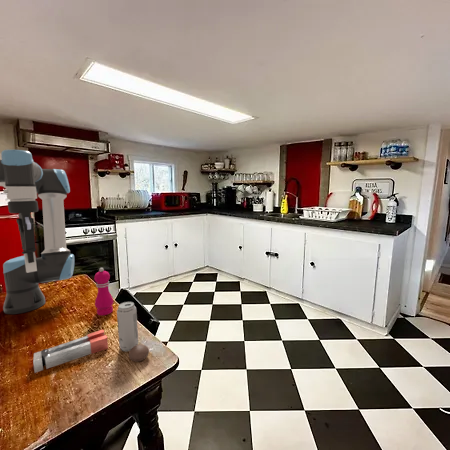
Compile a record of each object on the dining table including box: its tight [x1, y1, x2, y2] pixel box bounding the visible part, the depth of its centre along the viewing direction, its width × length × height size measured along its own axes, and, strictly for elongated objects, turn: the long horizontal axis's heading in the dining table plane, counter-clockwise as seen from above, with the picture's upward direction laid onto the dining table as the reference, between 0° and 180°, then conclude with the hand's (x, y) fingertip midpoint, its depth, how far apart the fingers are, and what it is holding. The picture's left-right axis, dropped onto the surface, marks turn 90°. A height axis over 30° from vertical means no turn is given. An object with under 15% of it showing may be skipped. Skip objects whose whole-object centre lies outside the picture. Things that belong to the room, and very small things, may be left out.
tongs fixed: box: [32, 334, 109, 374], centre depth 81 cm, size 20×5×4 cm, turn 125°
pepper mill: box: [93, 267, 114, 316], centre depth 109 cm, size 7×7×20 cm
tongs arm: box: [47, 329, 106, 354], centre depth 84 cm, size 16×2×4 cm, turn 130°
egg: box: [128, 344, 150, 362], centre depth 79 cm, size 6×6×4 cm
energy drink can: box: [116, 301, 139, 352], centre depth 84 cm, size 6×6×15 cm
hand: (31, 271), depth 84 cm, fingers closed
